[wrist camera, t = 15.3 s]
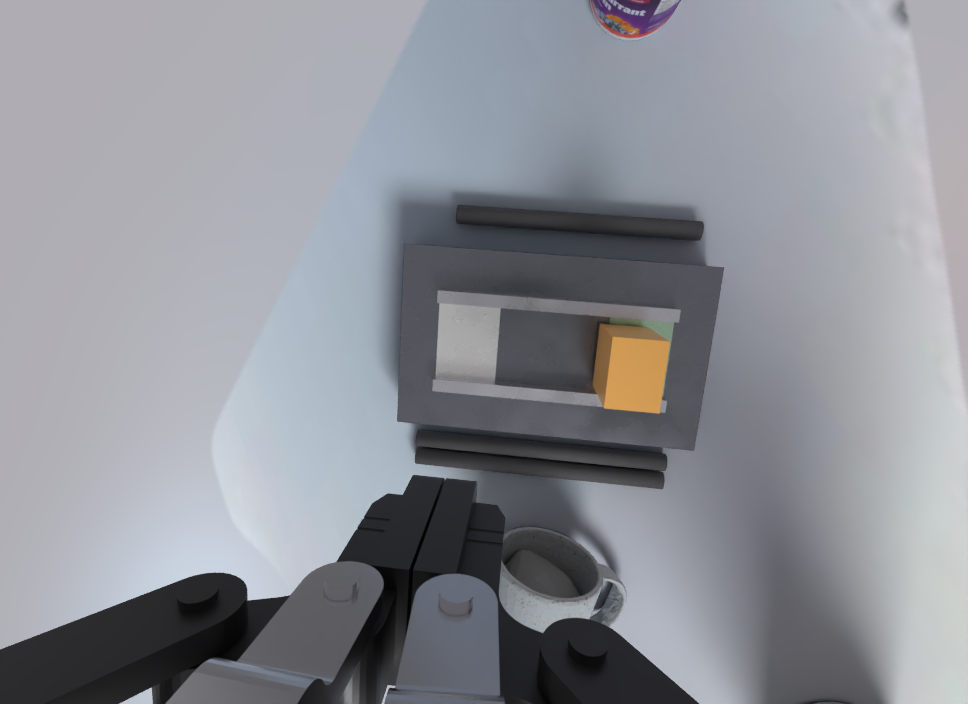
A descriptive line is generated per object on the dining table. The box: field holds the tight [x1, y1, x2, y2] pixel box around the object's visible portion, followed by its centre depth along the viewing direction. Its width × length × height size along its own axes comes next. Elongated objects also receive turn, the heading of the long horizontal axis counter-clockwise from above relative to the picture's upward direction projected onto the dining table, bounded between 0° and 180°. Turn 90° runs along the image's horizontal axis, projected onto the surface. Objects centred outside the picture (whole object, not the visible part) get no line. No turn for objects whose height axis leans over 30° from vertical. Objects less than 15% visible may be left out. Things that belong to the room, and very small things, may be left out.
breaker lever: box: [593, 324, 670, 414], centre depth 30 cm, size 3×4×5 cm
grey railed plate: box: [415, 205, 704, 489], centre depth 36 cm, size 18×19×1 cm
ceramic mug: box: [499, 527, 627, 633], centre depth 36 cm, size 11×8×8 cm
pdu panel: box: [397, 244, 724, 451], centre depth 34 cm, size 20×12×4 cm, turn 86°
